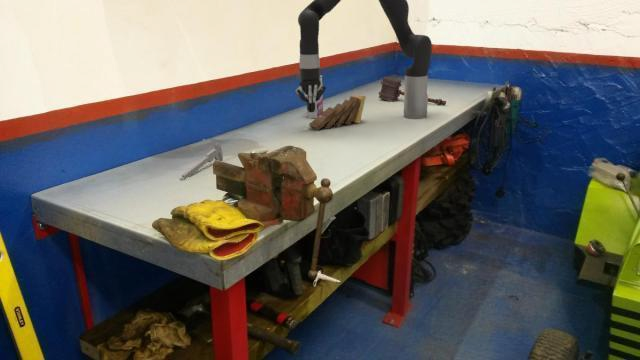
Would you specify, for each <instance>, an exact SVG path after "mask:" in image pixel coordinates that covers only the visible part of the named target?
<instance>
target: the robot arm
mask: <svg viewBox="0 0 640 360" xmlns="http://www.w3.org/2000/svg"><path fill="white" fill-rule="evenodd" d="M341 1H342V0H313V1H311V2H310V3H309V4H308V5H307V6H306V7H304V9H303V10H302V11H301V12H300V13H299V15H298V17H297V23H298V25H299V29H300V31H299V32H300V40H299V79H300V81H299V87H297V88H294V92H295V94H296V95H297V97H299V99H300V100H301V101H302V102H305V103H306V111H307V113H308V112H310V113H311V112H314V110H315V102H316V101H317V100H319V99H320V98H321V96H322V94H324V93H325V90H326V89H327V87H326V86H324V85H323V84H322V85H321V82H320V76H321V67H320V66H321V60H320V51H319V49H320V48H319V47H320V45H319V34H320V33H319V31H320V21H321V20H322V18H324V17H325V15H327V14H329V13H331V11H333V9H334V8H335V7H336V6H337V5H338V4H339V3H340V2H341ZM378 2H379V5H380V6H381V8H382V10H383V12H384V14H385V16H386V18H387V19H388V21H389V24H390V26H391V28H392V29H393V32H394V33H395V36H396V38H397V42H398V45H399V47H400V50H401V51H402V53H403V54H404V56H406V57H407V58H410V59H413V62H412V65H410V66H408V67H406V68H405V70H404V89H403V90H404V91H403V92H404V95H403V117H404V118H407V119H414V120H415V119H423V118H427V117H428V103H429V102H428V98H429V95H428V76H429V70H430V66H431V59H432V50H433V48H432V47H433V45H432V41H431V38H430V37H429V36H428V35H424V34H415V33H414V32H413V30H412V29H411V26H410V24H409V13H410V12H409V11H410V7H409V3H408V1H407V0H378ZM318 89H319V90H318ZM317 90H318V91H317Z"/></svg>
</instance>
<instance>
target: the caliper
mask: <svg viewBox="0 0 640 360" xmlns="http://www.w3.org/2000/svg"><path fill="white" fill-rule="evenodd" d="M216 160H220V161H223V160H224V155H223V150H222V146H221V145H220V143H217V142H216V144H214V148H213V149H211V150H210V151H209V152H208V153H206V154H205V156H204V157H203V158H202V159H201V160H199V161H198V162H197V163H195V164H194V165H193V166H192V167H190V168H189V169H188V170H187V171H185V172H184V173H183V174H182V175H181V177H180V178H179V180H180V181H184V180H186V178H187V179H188V177H189V178H190V177H191V176H192V175H194V174H195V173H196V172H197V171H199V170H200V169H201V168H202V167H203V166H205V165H207V163H212V162H213V161H216Z"/></svg>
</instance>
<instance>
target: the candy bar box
mask: <svg viewBox="0 0 640 360" xmlns="http://www.w3.org/2000/svg"><path fill="white" fill-rule="evenodd" d="M320 82H321V85H323V75H320ZM318 90H319V89H318ZM318 90H317V91H318ZM323 94H324V93H323ZM323 94H322V96H321V98H320V99H319V100H317V101H316V102H315V110H314V112H311V113H310V112H308V111H307V119H316V118H317V117H318V116H319V115H320V114H322V113H323V112H324V100H323V99H324V96H323Z"/></svg>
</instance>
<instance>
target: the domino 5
mask: <svg viewBox="0 0 640 360" xmlns="http://www.w3.org/2000/svg"><path fill="white" fill-rule="evenodd" d="M353 97H356V98H359V99H360V100H361V102H360V104H359V106H358V108H357V111H356V113H355V115H354V117H353V119H352V121H351V123H356V124H360V123H361V121H362V119H361V118H362V114H363V111H364V106H365V101H366V99H367V98H366V95H362V94H357V93H355V94H354V96H353Z"/></svg>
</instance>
